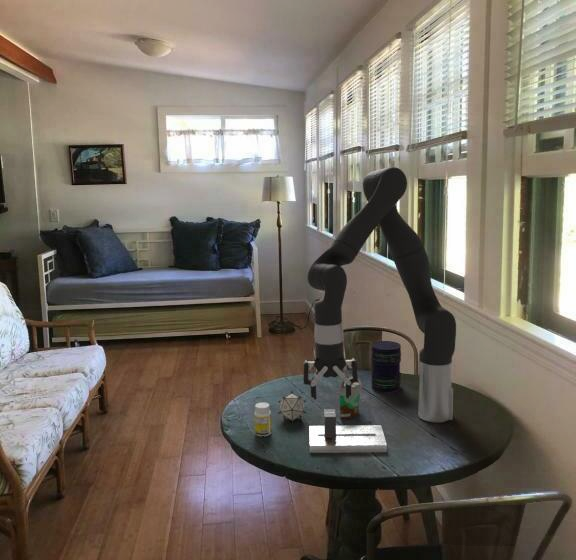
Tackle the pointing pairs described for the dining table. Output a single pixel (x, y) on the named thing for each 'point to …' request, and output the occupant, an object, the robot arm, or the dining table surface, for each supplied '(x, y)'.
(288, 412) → the game die
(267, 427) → the supplement bottle
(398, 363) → the storage jar
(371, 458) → the dining table surface
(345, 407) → the food container
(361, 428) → the console board
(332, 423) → the fader knob
